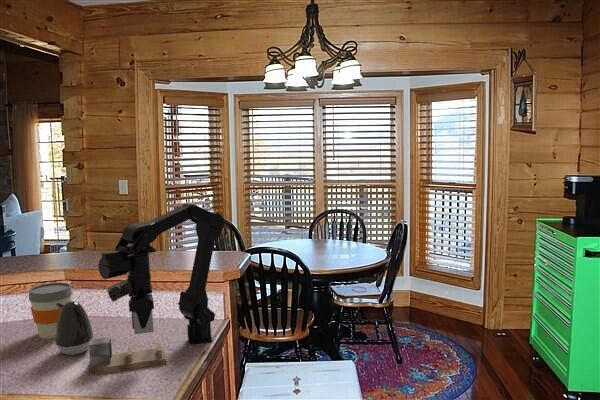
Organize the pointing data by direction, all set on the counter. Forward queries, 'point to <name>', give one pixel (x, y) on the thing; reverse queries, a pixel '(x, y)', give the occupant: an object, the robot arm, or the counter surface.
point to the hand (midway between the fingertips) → (143, 325)
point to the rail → (121, 357)
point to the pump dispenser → (73, 329)
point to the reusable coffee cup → (48, 306)
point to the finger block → (138, 328)
